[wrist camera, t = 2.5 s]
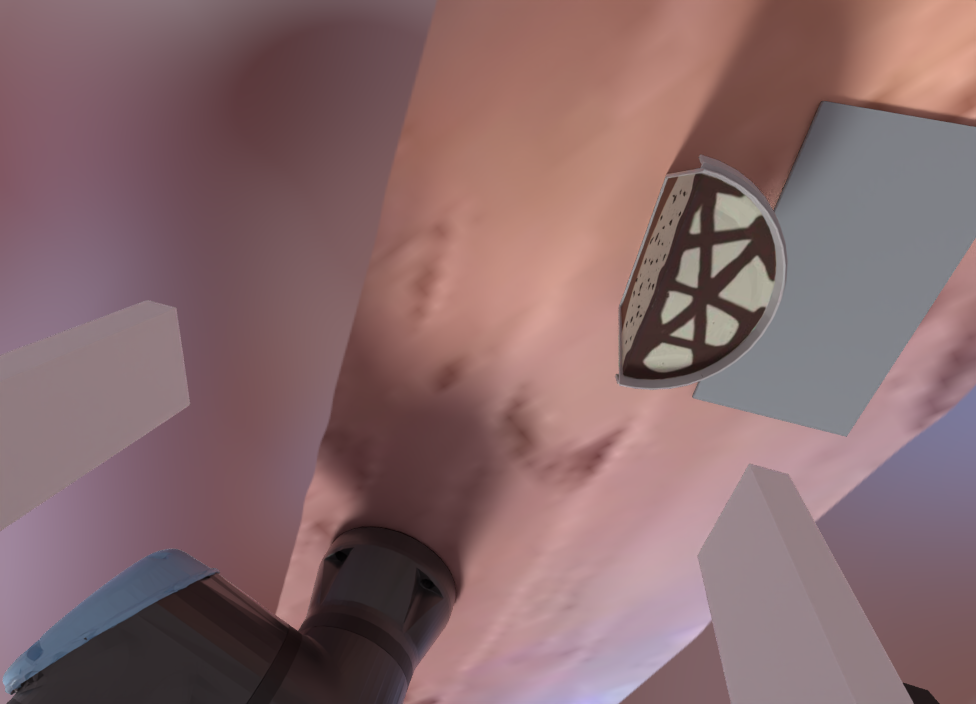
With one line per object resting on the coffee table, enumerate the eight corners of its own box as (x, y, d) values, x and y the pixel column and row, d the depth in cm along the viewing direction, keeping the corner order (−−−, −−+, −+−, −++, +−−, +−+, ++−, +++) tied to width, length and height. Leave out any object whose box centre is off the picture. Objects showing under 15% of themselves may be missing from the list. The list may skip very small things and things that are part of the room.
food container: (695, 349, 34) (729, 425, 25) (611, 326, 34) (616, 393, 26) (776, 171, 28) (857, 190, 19) (675, 148, 29) (708, 156, 20)
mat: (692, 396, 35) (692, 398, 35) (821, 101, 26) (823, 100, 26) (844, 434, 34) (846, 436, 34) (1035, 138, 25) (1040, 138, 25)
